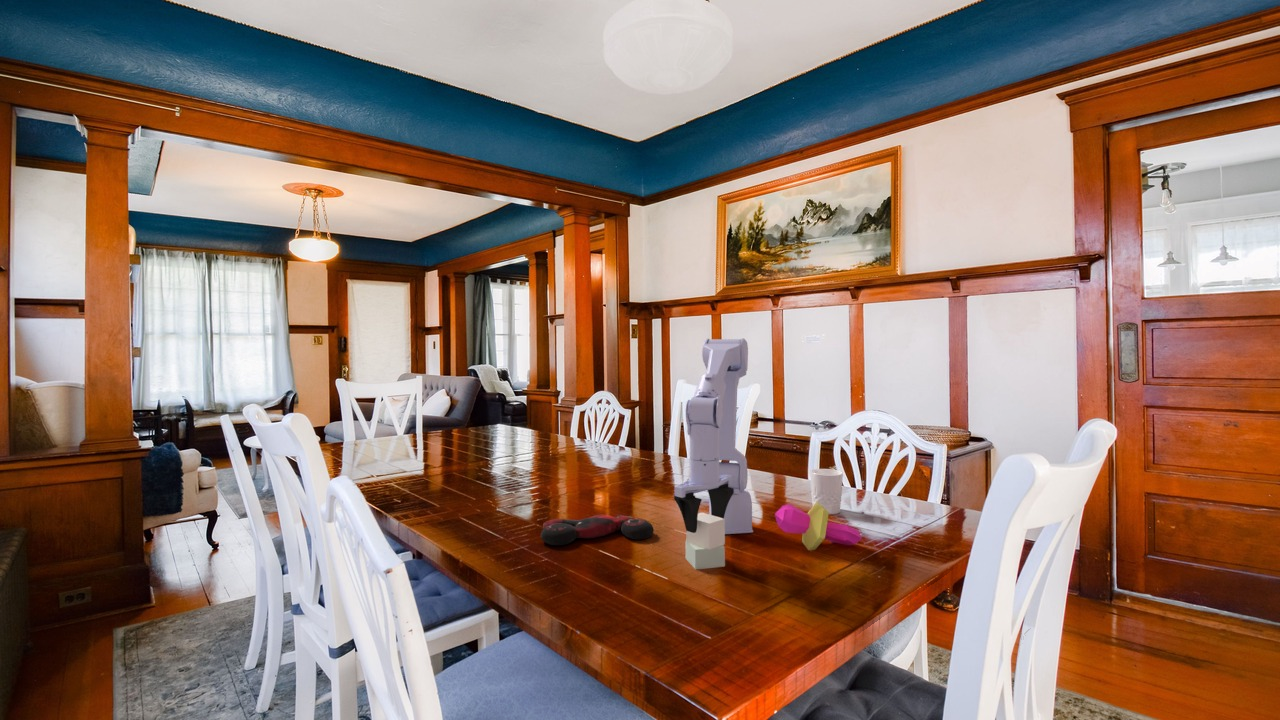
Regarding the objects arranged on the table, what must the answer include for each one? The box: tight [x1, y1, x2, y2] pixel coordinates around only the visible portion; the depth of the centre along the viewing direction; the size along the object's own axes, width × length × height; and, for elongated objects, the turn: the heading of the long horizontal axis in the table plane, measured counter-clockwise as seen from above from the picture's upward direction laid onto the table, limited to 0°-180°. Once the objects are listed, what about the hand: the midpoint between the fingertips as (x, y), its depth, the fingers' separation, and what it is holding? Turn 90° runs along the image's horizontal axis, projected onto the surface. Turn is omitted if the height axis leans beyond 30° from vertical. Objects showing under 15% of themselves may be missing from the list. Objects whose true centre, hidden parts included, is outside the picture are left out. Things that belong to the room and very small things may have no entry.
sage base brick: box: [684, 538, 726, 570], centre depth 115 cm, size 6×6×4 cm
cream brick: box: [686, 512, 726, 550], centre depth 115 cm, size 4×6×5 cm
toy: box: [774, 502, 863, 551], centre depth 123 cm, size 10×18×10 cm, turn 88°
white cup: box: [810, 468, 843, 515], centre depth 149 cm, size 8×8×10 cm
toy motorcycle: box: [540, 514, 655, 546], centre depth 133 cm, size 25×5×16 cm
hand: (704, 527), depth 115 cm, fingers open, 7 cm apart
